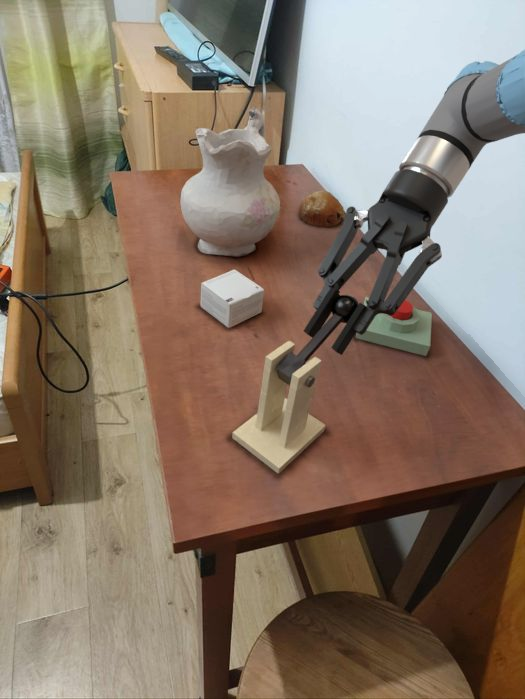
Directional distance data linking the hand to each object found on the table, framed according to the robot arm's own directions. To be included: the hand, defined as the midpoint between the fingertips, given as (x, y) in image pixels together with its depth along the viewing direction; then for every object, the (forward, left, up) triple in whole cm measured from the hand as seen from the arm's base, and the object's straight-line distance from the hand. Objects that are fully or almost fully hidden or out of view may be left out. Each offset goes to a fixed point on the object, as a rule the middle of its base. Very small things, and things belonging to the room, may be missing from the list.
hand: (322, 342), depth 64 cm
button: (-10, -24, -9) cm, 28 cm away
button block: (-10, -24, -13) cm, 29 cm away
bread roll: (+10, -61, -13) cm, 63 cm away
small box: (+18, -18, -13) cm, 28 cm away
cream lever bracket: (+3, +6, -13) cm, 14 cm away
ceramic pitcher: (+26, -41, -13) cm, 50 cm away
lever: (0, 0, 0) cm, 0 cm away
